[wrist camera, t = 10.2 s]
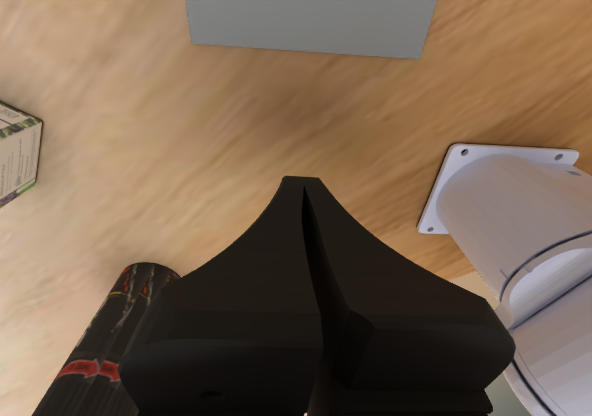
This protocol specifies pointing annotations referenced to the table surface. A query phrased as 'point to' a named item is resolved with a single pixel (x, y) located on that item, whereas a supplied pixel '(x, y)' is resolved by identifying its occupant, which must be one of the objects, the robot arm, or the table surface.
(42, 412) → the deodorant
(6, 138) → the syrup box
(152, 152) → the table surface
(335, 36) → the mat
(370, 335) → the robot arm
